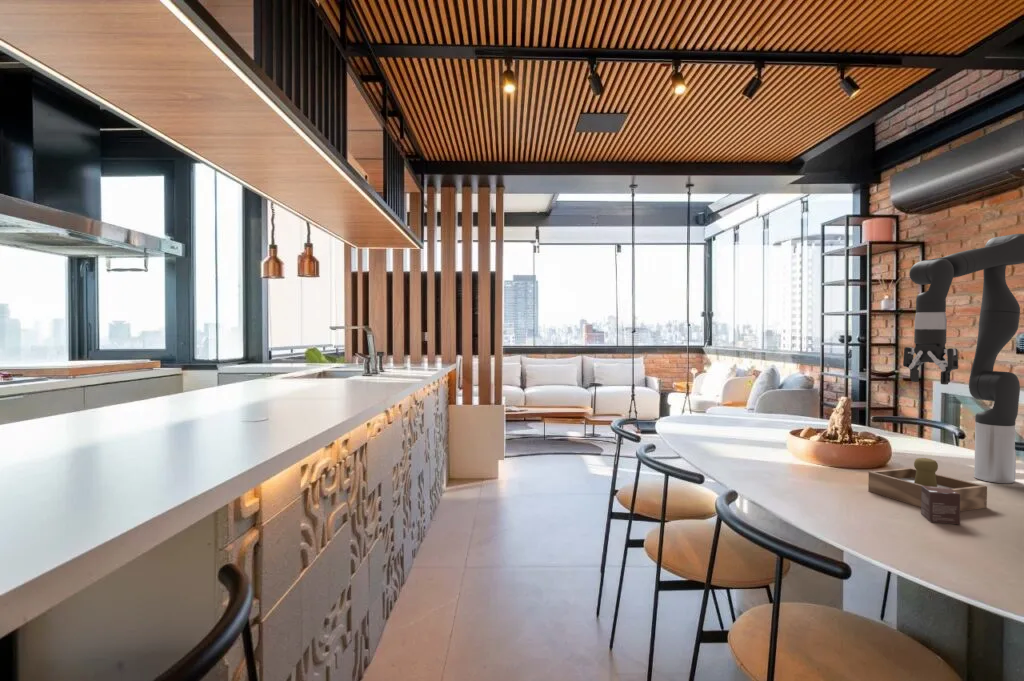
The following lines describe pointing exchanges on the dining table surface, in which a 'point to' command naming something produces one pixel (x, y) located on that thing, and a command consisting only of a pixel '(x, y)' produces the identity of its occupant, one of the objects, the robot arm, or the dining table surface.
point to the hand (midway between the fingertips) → (929, 383)
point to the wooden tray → (905, 490)
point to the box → (940, 504)
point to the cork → (925, 472)
